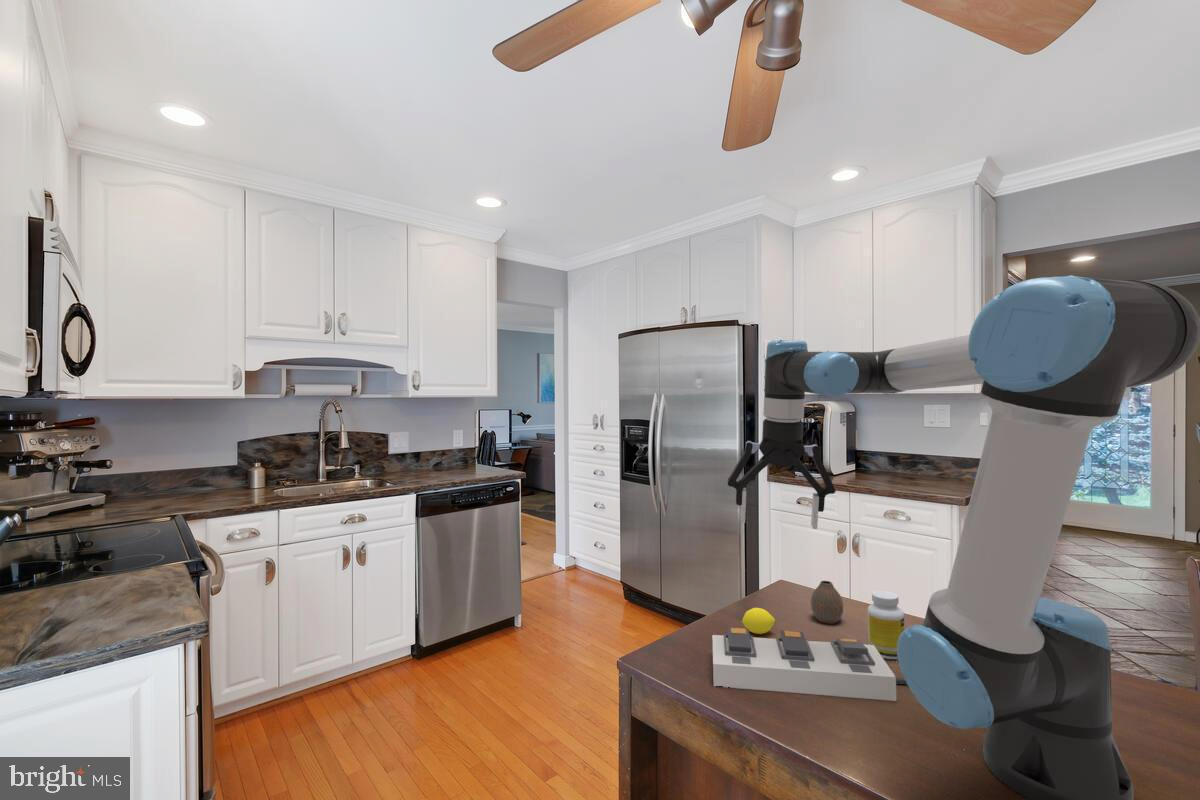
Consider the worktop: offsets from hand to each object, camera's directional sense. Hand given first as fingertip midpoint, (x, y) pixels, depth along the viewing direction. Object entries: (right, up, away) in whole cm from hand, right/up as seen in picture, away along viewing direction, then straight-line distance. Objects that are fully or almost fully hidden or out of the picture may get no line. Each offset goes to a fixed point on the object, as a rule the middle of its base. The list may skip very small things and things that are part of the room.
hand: (777, 523), depth 107 cm
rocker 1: (-9, -21, -5) cm, 24 cm away
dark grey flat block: (+1, -21, -7) cm, 22 cm away
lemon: (-1, -26, +10) cm, 28 cm away
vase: (+17, -26, +15) cm, 34 cm away
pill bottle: (+21, -26, -1) cm, 34 cm away
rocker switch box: (+6, -26, -10) cm, 28 cm away
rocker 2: (+10, -21, -9) cm, 25 cm away
